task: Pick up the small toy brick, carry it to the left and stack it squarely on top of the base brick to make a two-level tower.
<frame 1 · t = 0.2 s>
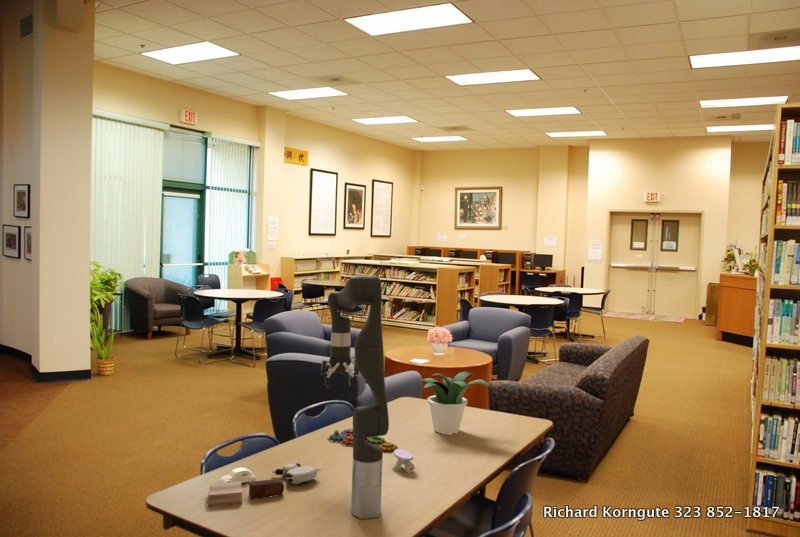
hand: (339, 386, 229), 29 cm above the table, tool pointing down, fingers open, 8 cm apart
car: (236, 483, 208), on the table
robot toy: (295, 479, 213), on the table
gear puzzle: (364, 445, 253), on the table
toy table: (403, 469, 226), on the table
base brick: (225, 498, 194), on the table
brick: (266, 496, 198), on the table
potted plant: (452, 431, 273), on the table
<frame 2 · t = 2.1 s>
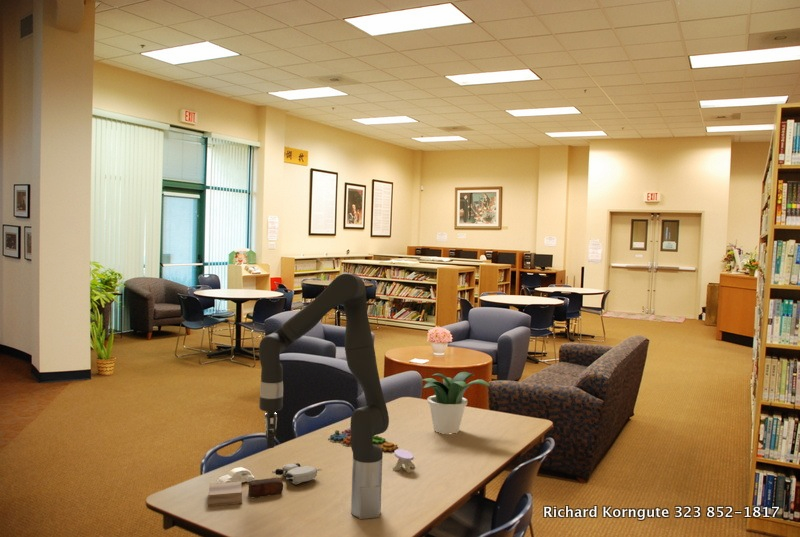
hand: (269, 443, 199), 17 cm above the table, tool pointing down, fingers open, 8 cm apart
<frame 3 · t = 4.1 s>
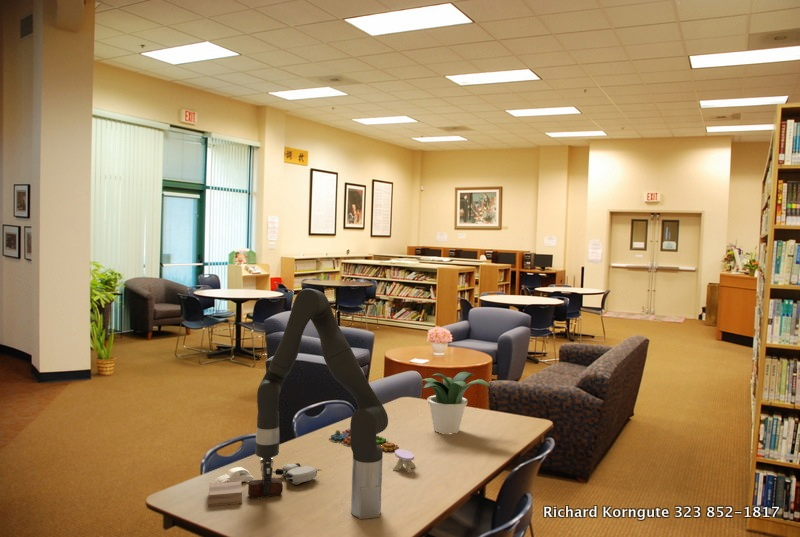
hand: (265, 491, 198), 1 cm above the table, tool pointing down, fingers closed on brick, 4 cm apart
brick: (265, 495, 198), on the table, touching gripper
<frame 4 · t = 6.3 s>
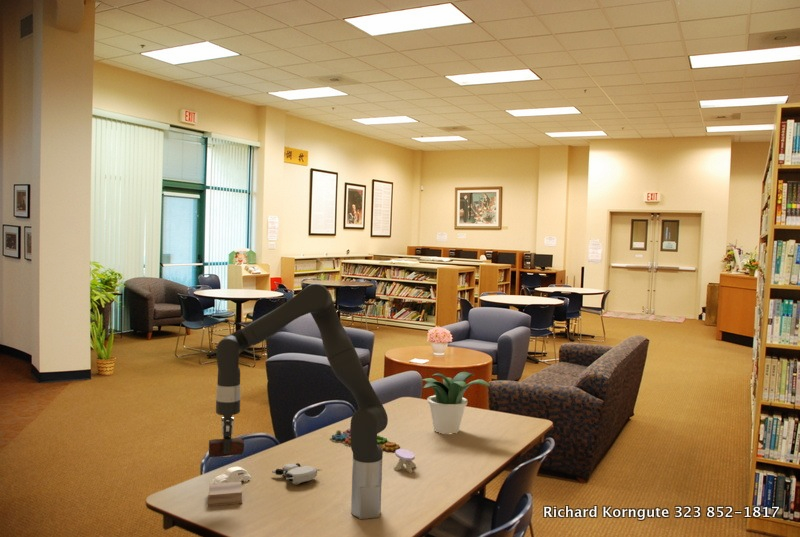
hand: (226, 450, 194), 16 cm above the table, tool pointing down, fingers closed on brick, 4 cm apart
brick: (226, 454, 194), point 14 cm above the table, touching gripper
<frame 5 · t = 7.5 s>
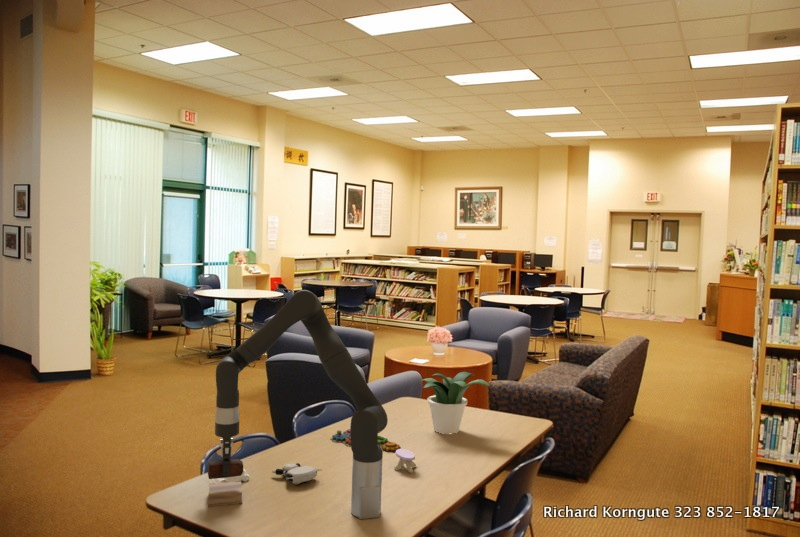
hand: (226, 472, 194), 9 cm above the table, tool pointing down, fingers closed on brick, 4 cm apart
brick: (225, 476, 194), point 7 cm above the table, touching gripper
when the fingers open (5 cm above the table, at t = 8.5 s): brick stays where it is, resting on base brick.
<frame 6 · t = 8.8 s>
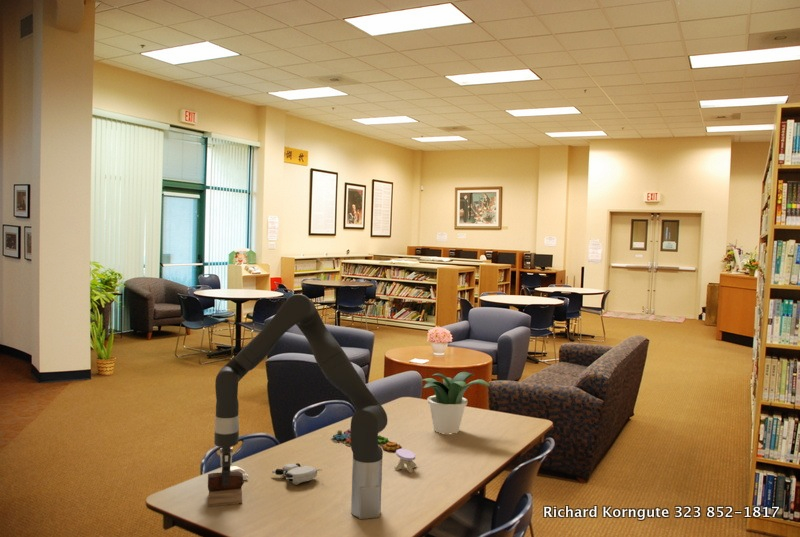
hand: (225, 480, 194), 6 cm above the table, tool pointing down, fingers open, 7 cm apart
brick: (225, 488, 194), point 3 cm above the table, touching base brick
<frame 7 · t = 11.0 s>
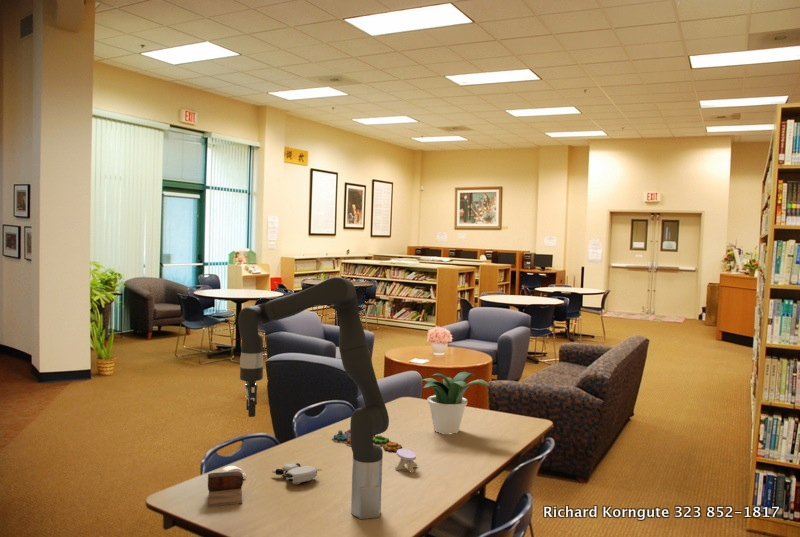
hand: (250, 413, 203), 25 cm above the table, tool pointing down, fingers open, 8 cm apart
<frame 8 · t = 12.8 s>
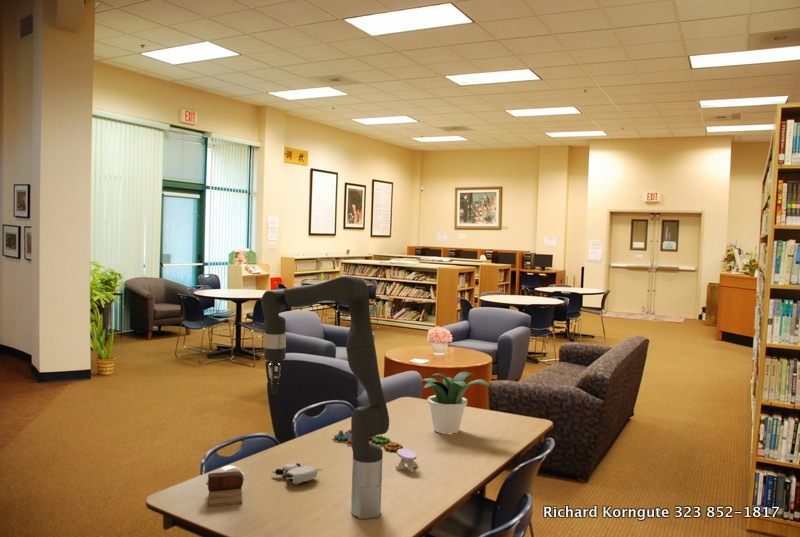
hand: (273, 391, 214), 30 cm above the table, tool pointing down, fingers open, 8 cm apart
at the end: brick inside the target area on the base brick (0.1 cm from its centre), point 3.3 cm above the base brick's base; brick touching base brick; the gripper is holding nothing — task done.
